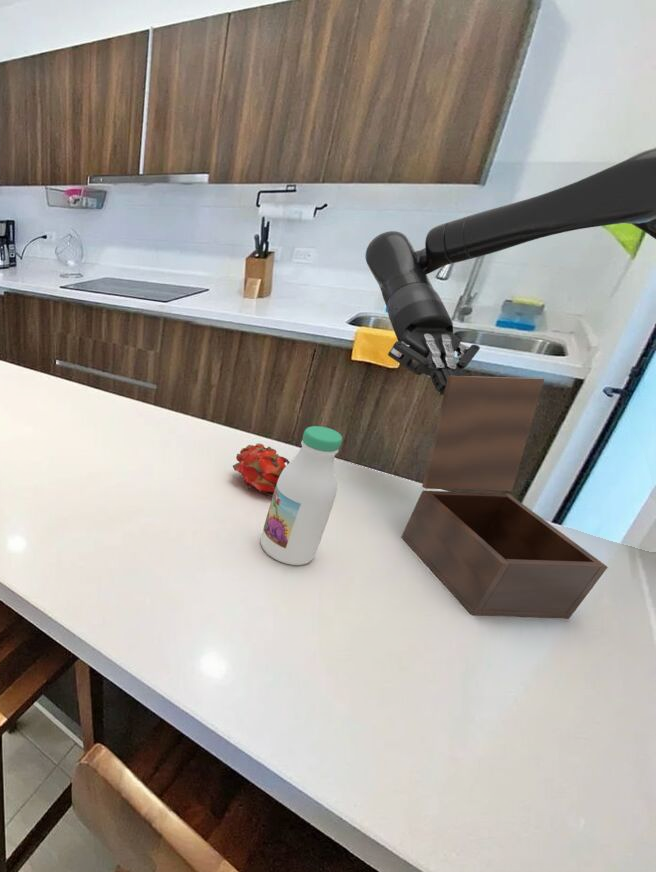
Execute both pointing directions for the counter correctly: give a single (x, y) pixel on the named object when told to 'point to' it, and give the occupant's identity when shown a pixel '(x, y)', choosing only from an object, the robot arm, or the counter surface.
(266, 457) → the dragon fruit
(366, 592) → the counter surface
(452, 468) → the tea lid
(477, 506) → the tea box
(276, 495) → the milk bottle
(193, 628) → the counter surface
